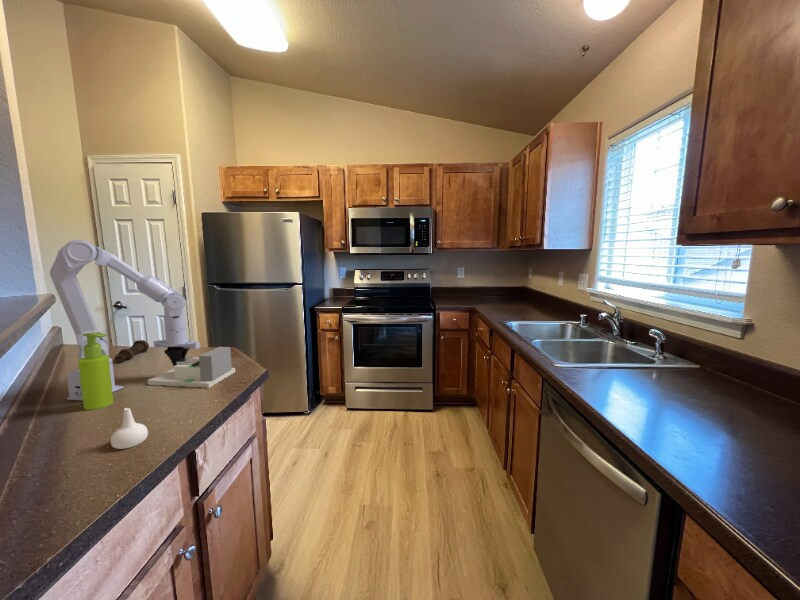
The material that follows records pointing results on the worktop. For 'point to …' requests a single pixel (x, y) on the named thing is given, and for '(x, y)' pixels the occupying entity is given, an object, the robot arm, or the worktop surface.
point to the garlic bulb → (129, 432)
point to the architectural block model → (199, 371)
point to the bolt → (132, 351)
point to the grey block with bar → (189, 361)
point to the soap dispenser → (95, 375)
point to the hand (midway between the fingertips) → (178, 368)
